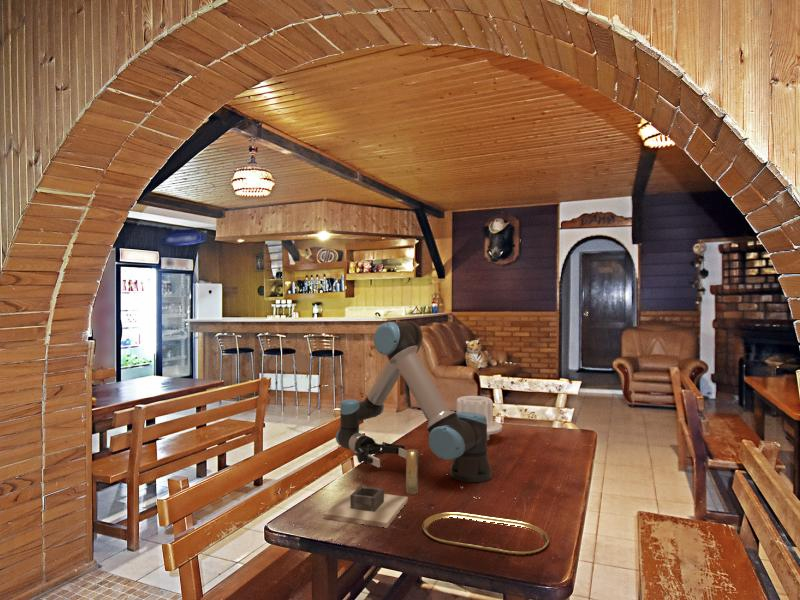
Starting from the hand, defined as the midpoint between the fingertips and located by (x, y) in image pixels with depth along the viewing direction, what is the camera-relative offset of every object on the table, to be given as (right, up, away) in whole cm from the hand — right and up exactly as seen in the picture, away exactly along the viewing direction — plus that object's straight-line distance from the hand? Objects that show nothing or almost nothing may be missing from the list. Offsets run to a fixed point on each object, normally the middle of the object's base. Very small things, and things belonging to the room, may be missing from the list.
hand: (395, 459), depth 183 cm
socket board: (-8, -9, -22) cm, 25 cm away
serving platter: (+25, -10, -38) cm, 47 cm away
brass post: (+6, -9, -8) cm, 13 cm away
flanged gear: (+36, -8, +55) cm, 66 cm away
